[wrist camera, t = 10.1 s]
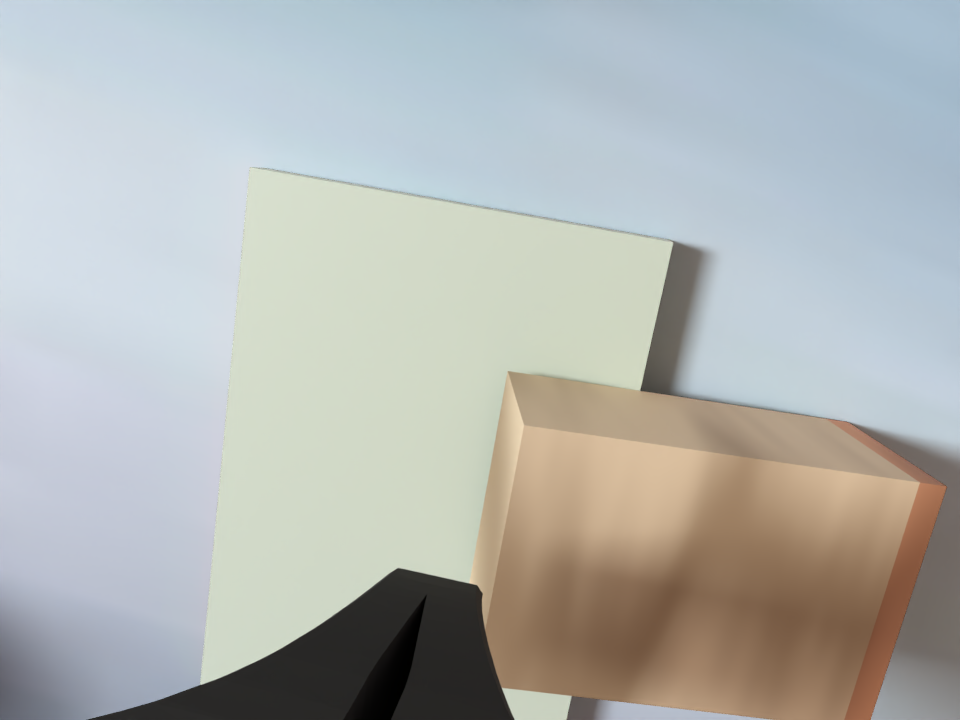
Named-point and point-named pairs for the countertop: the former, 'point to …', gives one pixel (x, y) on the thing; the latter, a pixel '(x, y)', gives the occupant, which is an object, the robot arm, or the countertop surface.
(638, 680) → the beech block
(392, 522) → the sage board
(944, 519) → the countertop surface
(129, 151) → the countertop surface
